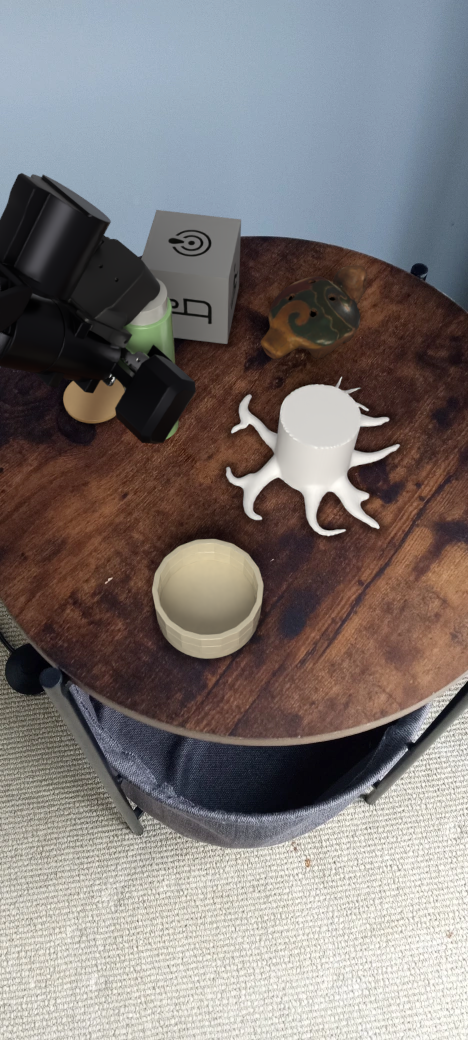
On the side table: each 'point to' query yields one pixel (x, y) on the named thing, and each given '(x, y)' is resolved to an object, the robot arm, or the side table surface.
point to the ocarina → (315, 314)
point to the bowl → (208, 598)
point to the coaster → (93, 402)
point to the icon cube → (196, 271)
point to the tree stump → (312, 450)
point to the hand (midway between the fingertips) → (160, 364)
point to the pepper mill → (154, 330)
